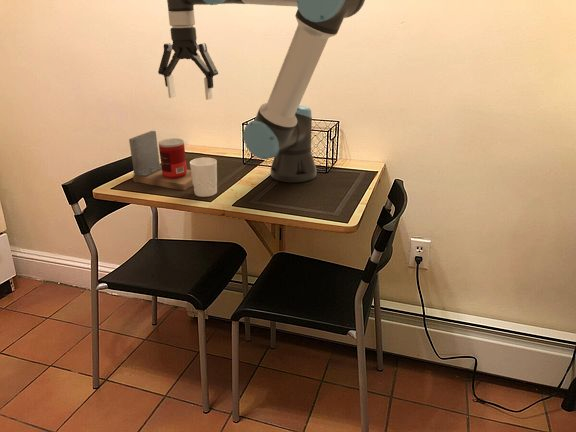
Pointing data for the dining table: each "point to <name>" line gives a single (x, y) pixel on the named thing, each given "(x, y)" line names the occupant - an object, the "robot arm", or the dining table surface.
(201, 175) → the white cup
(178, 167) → the canned food
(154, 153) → the bookend
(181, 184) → the shelf board
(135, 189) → the dining table surface
